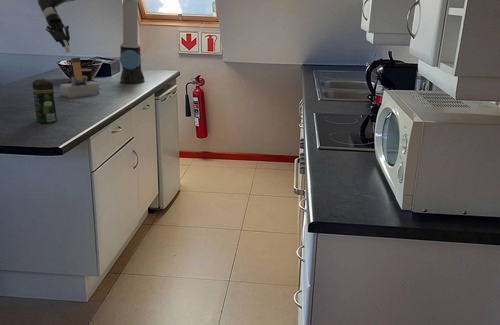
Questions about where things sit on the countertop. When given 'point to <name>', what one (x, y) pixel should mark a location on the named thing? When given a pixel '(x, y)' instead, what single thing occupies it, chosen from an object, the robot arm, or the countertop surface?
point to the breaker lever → (77, 70)
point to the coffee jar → (44, 101)
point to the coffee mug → (86, 73)
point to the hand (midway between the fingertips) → (68, 50)
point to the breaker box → (79, 88)
